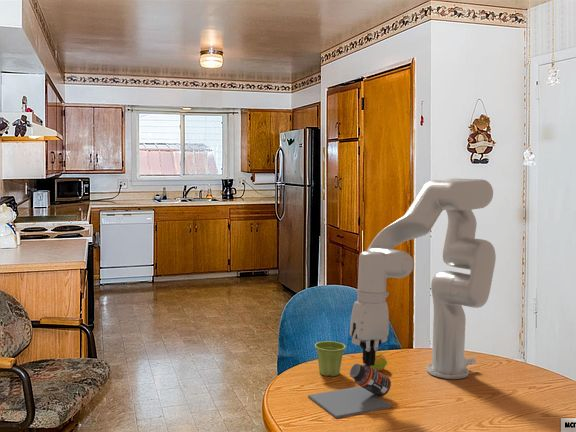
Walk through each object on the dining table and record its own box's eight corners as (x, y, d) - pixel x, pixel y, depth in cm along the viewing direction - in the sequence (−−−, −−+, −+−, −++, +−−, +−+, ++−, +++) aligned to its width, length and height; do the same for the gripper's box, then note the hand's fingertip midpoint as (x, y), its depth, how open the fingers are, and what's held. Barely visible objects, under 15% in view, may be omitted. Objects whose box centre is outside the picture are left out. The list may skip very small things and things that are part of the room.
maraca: (369, 374, 178) (369, 357, 178) (358, 364, 188) (359, 347, 187) (390, 373, 179) (391, 356, 179) (379, 363, 189) (379, 347, 189)
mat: (360, 388, 167) (360, 386, 167) (392, 407, 153) (392, 405, 153) (308, 397, 159) (308, 395, 159) (335, 418, 146) (335, 415, 146)
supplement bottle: (393, 390, 157) (364, 373, 153) (378, 401, 160) (348, 385, 155) (389, 372, 162) (360, 356, 158) (374, 383, 165) (345, 367, 160)
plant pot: (328, 366, 186) (328, 339, 185) (351, 373, 179) (351, 345, 178) (307, 372, 179) (308, 345, 178) (331, 380, 172) (331, 352, 172)
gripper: (386, 293, 163) (383, 357, 165) (340, 296, 157) (337, 363, 158) (402, 298, 157) (399, 365, 158) (355, 301, 150) (352, 371, 151)
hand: (368, 364), depth 158 cm, fingers closed
